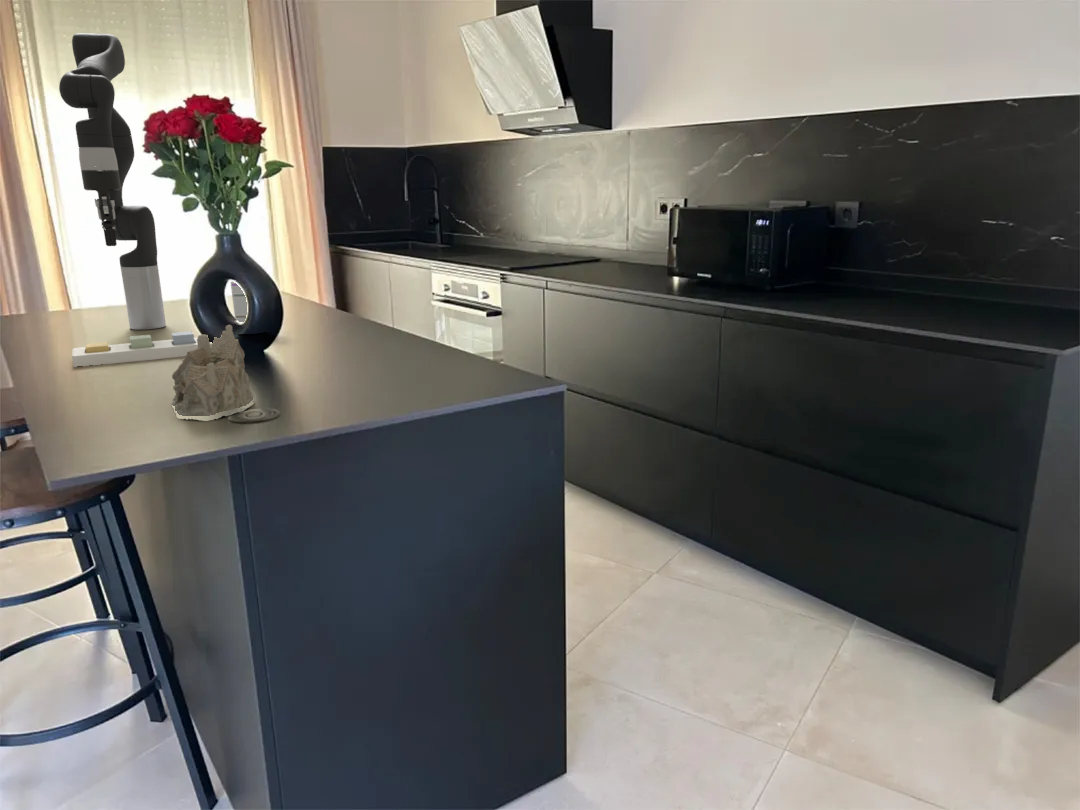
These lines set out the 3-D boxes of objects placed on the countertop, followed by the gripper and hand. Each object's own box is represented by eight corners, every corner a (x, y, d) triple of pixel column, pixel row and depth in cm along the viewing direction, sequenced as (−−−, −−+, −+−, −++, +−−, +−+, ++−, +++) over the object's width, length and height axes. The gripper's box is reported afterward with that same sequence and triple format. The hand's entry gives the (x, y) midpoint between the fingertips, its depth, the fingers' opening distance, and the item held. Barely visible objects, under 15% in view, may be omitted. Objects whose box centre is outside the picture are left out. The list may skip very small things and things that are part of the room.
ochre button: (88, 356, 178) (86, 344, 177) (109, 354, 180) (107, 342, 179) (87, 360, 174) (85, 347, 173) (110, 358, 176) (108, 345, 175)
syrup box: (258, 335, 206) (252, 280, 202) (236, 335, 206) (230, 280, 202) (265, 331, 212) (260, 278, 207) (244, 331, 212) (238, 278, 208)
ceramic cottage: (203, 392, 150) (192, 316, 144) (273, 403, 144) (264, 325, 139) (138, 419, 136) (123, 337, 131) (213, 432, 131) (200, 347, 125)
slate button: (173, 345, 186) (171, 332, 185) (193, 343, 188) (191, 331, 187) (174, 348, 182) (173, 335, 181) (194, 346, 184) (193, 334, 183)
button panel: (75, 358, 179) (72, 345, 178) (222, 344, 194) (220, 332, 193) (73, 367, 171) (71, 353, 170) (227, 352, 185) (226, 339, 184)
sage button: (131, 348, 182) (129, 336, 181) (152, 347, 184) (150, 334, 183) (132, 352, 178) (130, 339, 177) (153, 350, 180) (151, 337, 179)
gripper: (81, 169, 180) (93, 244, 185) (80, 168, 169) (93, 248, 174) (117, 169, 184) (128, 243, 189) (118, 168, 173) (130, 247, 177)
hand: (111, 245), depth 181 cm, fingers closed
